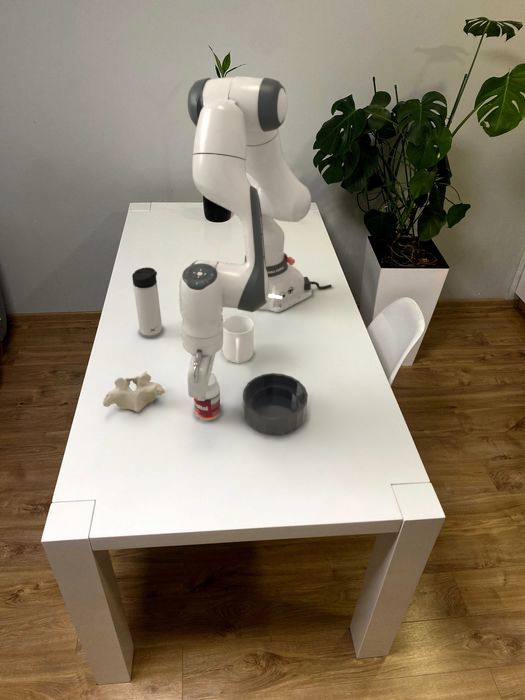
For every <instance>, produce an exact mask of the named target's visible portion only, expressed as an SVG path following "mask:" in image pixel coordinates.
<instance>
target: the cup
mask: <svg viewBox="0 0 525 700" xmlns="http://www.w3.org/2000/svg"><path fill="white" fill-rule="evenodd" d="M254 324H255V323H254V321H253V319H251V318H250V317H249V316H246V315H243V314H233V315H230V316H227V317H225V318H224V319H223V346H222V354H223V357H224V358H225V359H226V360H227V361H228V362H231V363H234V364H238V365H240V364H242V363H246V362H247V361H249V360H251V358H253V355H254V339H255V338H254V333H255V332H254V331H255V325H254Z"/></svg>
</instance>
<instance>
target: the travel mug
mask: <svg viewBox="0 0 525 700" xmlns="http://www.w3.org/2000/svg"><path fill="white" fill-rule="evenodd" d="M157 276H158V272H157V271H156V269H154V268H152V267H141V268H138V269H136V270H135V271H134V272H133V273H132V275H131V278H132V286H133V294H134V299H135V300H134V301H135V308H136V313H137V319H138V326H139V333H140V335H141V336H142V337H144V338H147V339H155V338H157V337H159V336H160V335H162V333H163V324H162V315H161V313H162V312H161V306H160V305H161V304H160V297H159V287H158V280H157Z"/></svg>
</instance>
